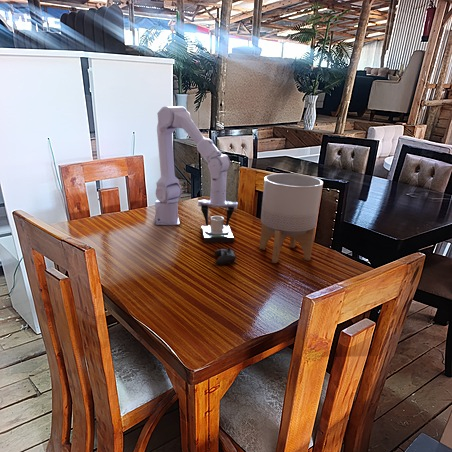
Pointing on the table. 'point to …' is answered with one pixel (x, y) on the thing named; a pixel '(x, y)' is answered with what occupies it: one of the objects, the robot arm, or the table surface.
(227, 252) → the gaming controller
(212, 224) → the small grey cup
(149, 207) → the table surface
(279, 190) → the planter
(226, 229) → the scale
